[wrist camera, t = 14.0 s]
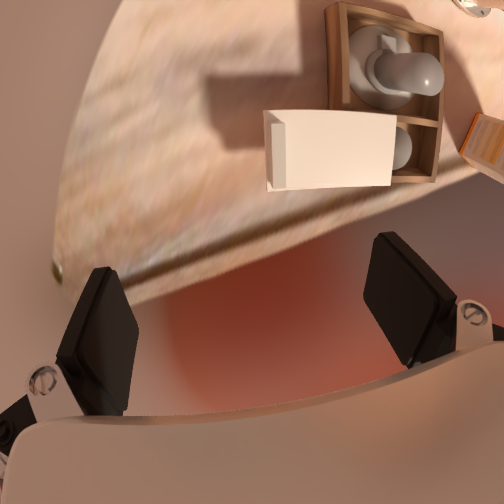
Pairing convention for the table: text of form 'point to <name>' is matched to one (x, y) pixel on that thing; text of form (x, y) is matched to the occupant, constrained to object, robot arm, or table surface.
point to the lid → (327, 148)
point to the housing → (370, 100)
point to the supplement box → (485, 146)
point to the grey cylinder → (403, 70)
